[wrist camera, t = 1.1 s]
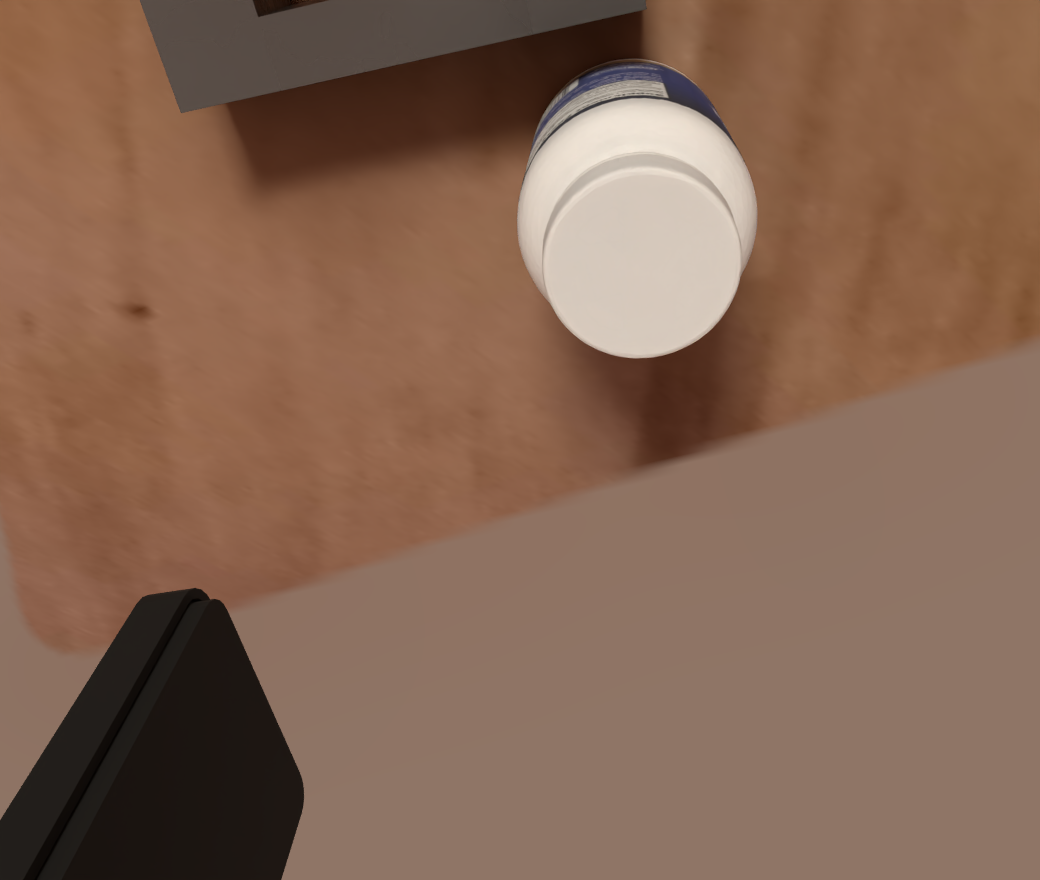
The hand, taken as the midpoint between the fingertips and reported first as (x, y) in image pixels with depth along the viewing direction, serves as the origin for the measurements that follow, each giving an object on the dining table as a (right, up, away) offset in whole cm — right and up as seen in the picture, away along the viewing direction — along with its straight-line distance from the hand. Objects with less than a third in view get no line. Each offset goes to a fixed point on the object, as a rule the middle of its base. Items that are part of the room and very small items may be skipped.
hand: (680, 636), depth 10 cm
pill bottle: (+2, +10, +18) cm, 21 cm away
